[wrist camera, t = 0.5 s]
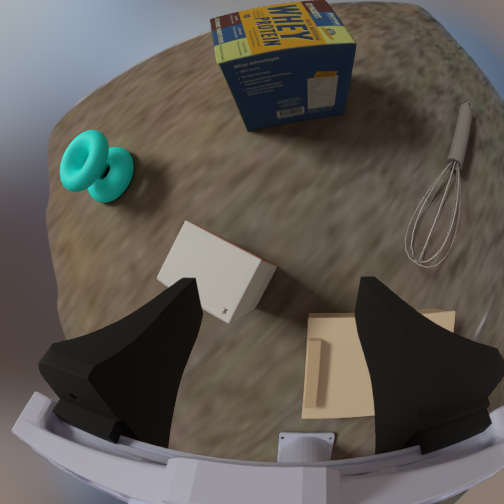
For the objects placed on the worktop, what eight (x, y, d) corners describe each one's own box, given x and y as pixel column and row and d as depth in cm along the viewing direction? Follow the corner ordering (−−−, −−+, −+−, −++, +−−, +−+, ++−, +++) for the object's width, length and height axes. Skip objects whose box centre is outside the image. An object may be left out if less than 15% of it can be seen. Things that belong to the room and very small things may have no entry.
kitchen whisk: (477, 114, 30) (492, 98, 24) (423, 277, 31) (444, 277, 25) (451, 95, 32) (464, 76, 26) (390, 254, 33) (406, 249, 26)
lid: (438, 402, 24) (444, 408, 22) (301, 416, 27) (301, 423, 25) (452, 310, 25) (461, 312, 23) (307, 317, 28) (308, 320, 27)
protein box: (236, 84, 39) (208, 18, 24) (325, 68, 36) (326, -2, 21) (246, 133, 37) (215, 64, 22) (346, 115, 35) (359, 42, 20)
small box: (278, 266, 35) (264, 259, 22) (255, 309, 35) (229, 326, 22) (224, 238, 36) (184, 218, 24) (203, 280, 36) (154, 280, 24)
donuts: (60, 202, 31) (54, 154, 33) (101, 215, 41) (90, 172, 43) (105, 160, 30) (95, 115, 32) (143, 182, 40) (129, 140, 42)
